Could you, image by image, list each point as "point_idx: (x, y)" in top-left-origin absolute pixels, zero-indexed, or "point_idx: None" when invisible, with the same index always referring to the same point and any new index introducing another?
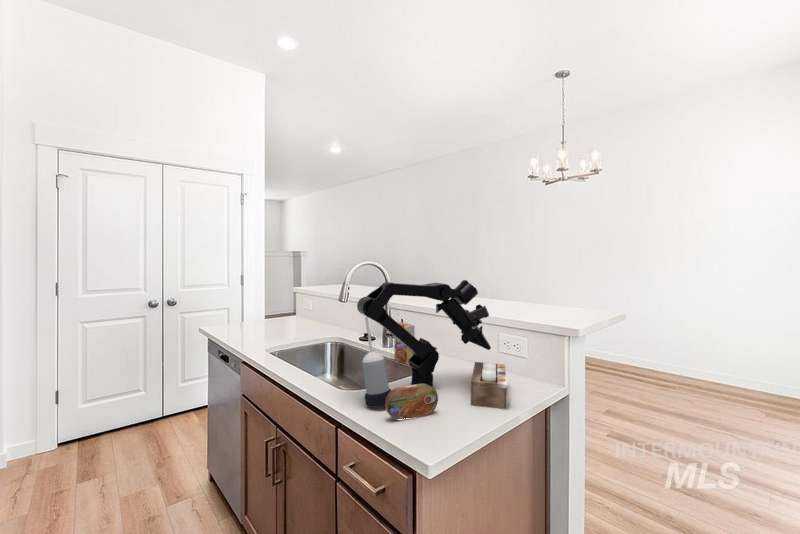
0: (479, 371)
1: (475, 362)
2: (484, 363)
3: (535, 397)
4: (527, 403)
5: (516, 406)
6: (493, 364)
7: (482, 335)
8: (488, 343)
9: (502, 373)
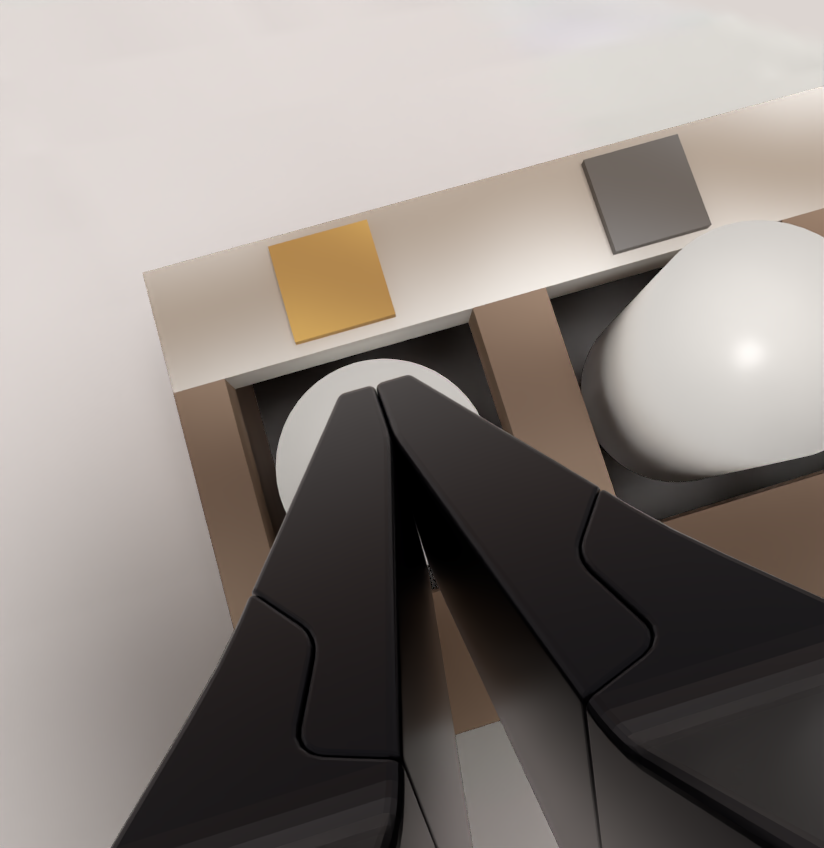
0: (763, 522)
1: None
2: (769, 438)
3: (427, 10)
4: (623, 44)
5: None
6: (728, 272)
7: (711, 647)
8: (362, 447)
9: (675, 173)
